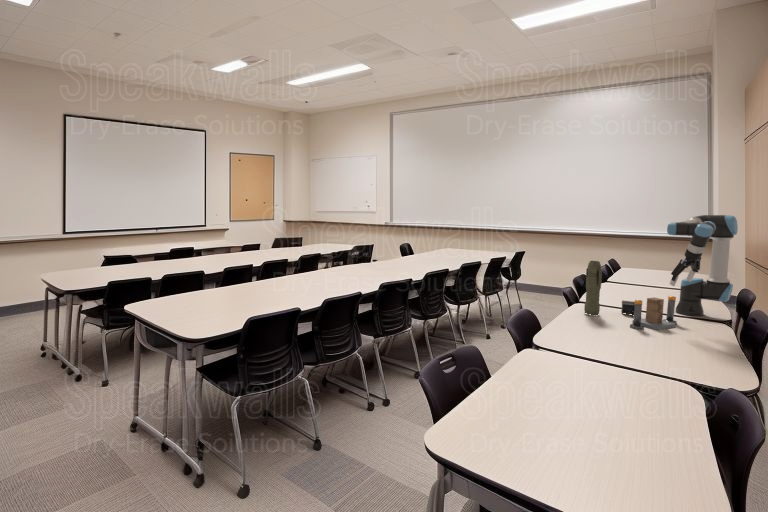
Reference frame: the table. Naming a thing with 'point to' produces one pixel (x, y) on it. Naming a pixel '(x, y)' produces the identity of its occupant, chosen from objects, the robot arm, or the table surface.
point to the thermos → (593, 287)
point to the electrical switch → (628, 307)
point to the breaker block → (654, 310)
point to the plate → (657, 325)
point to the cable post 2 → (670, 310)
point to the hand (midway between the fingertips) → (680, 282)
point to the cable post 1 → (637, 315)
